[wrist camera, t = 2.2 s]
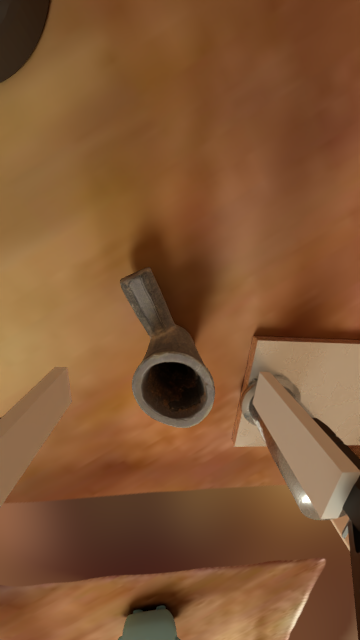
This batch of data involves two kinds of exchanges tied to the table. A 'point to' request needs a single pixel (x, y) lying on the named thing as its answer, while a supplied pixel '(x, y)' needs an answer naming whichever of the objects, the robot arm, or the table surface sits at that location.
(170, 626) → the teapot
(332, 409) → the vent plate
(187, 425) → the pipe
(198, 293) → the table surface
